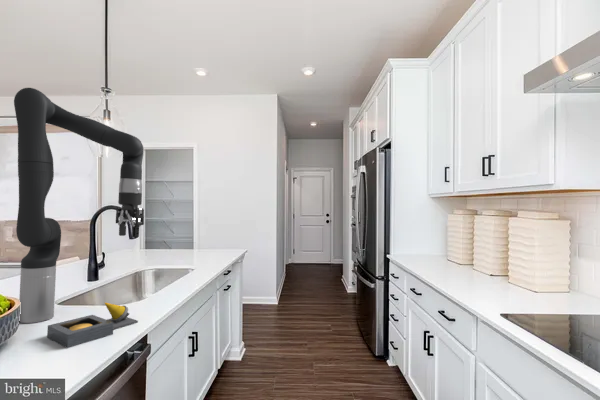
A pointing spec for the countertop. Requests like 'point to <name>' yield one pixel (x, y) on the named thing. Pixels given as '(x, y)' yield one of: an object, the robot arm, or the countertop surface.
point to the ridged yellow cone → (117, 312)
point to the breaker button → (79, 326)
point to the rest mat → (123, 322)
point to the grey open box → (79, 331)
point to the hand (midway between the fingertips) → (128, 236)
